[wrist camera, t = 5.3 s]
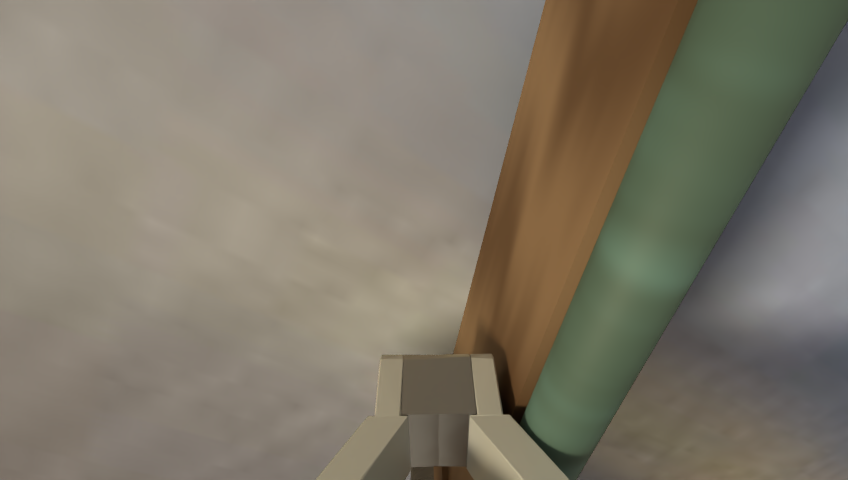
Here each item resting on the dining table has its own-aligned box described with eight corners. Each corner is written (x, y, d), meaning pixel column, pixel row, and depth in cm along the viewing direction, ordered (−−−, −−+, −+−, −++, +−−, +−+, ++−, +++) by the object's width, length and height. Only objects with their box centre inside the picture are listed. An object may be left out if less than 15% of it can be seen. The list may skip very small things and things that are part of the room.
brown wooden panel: (561, -97, 10) (771, -113, 4) (653, -79, 10) (990, -70, 4) (432, 414, 19) (437, 638, 13) (481, 418, 19) (508, 641, 13)
